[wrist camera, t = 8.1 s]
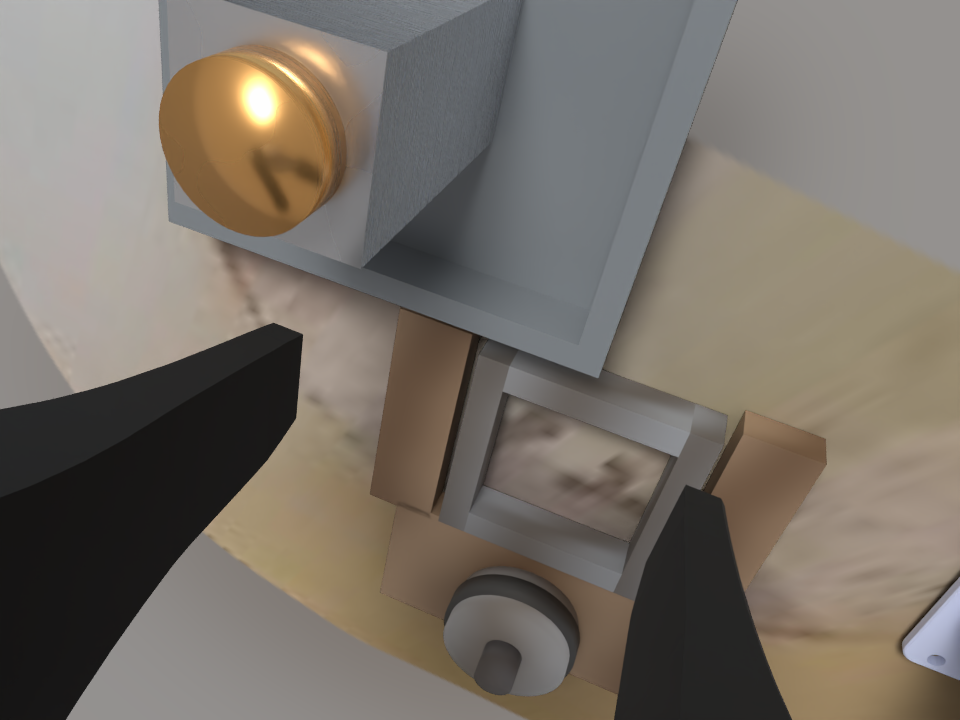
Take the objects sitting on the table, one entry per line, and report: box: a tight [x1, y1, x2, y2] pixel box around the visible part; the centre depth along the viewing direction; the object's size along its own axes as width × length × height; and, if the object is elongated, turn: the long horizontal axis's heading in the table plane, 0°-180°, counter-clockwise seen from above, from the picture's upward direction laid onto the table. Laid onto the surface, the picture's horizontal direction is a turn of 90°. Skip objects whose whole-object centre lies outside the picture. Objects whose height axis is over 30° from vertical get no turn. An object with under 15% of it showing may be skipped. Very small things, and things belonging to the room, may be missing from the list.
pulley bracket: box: [370, 307, 827, 696], centre depth 27 cm, size 13×14×4 cm
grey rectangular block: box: [159, 0, 523, 269], centre depth 17 cm, size 4×4×9 cm
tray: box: [159, 0, 738, 378], centre depth 20 cm, size 14×14×2 cm
